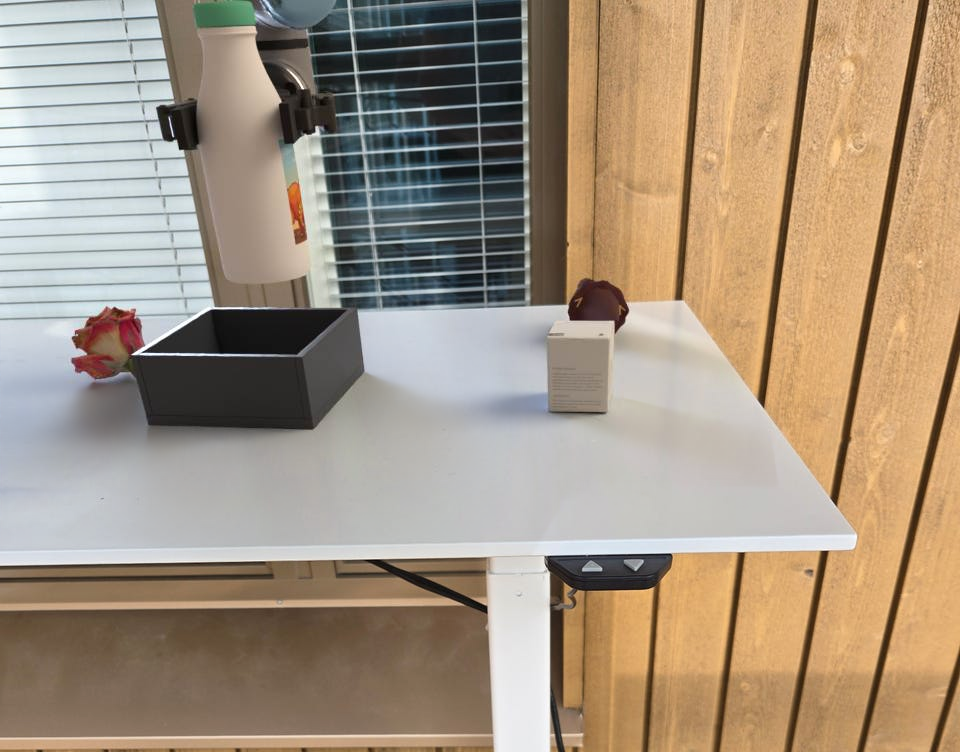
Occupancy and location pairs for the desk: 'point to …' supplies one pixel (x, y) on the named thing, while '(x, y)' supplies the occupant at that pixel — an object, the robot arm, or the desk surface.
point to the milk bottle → (246, 153)
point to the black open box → (251, 367)
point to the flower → (108, 343)
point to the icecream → (598, 303)
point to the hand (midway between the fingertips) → (233, 127)
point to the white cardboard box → (580, 366)
